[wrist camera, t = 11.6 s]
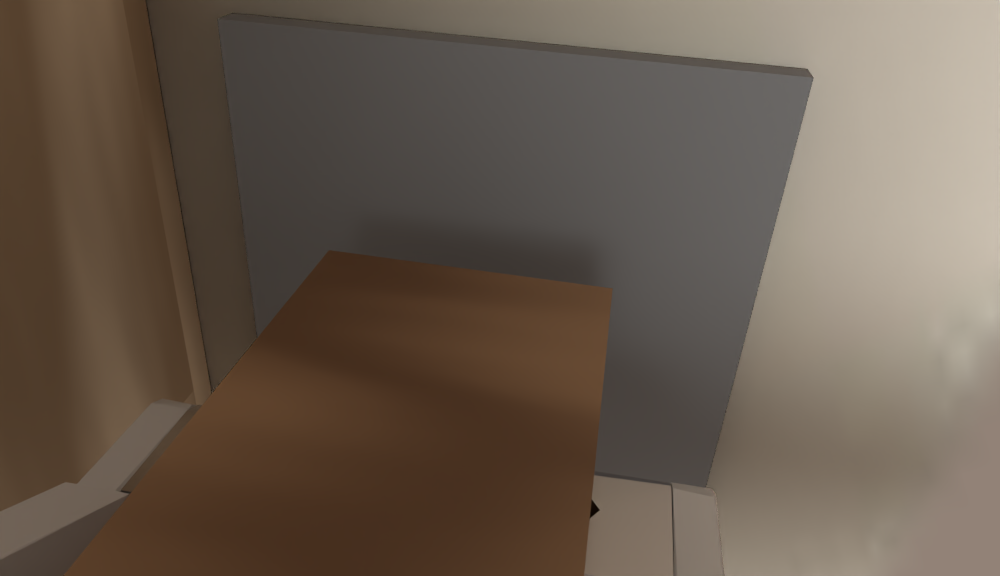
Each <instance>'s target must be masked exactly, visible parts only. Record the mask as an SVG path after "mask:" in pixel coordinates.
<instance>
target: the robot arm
mask: <svg viewBox="0 0 1000 576" xmlns="http://www.w3.org/2000/svg"><path fill="white" fill-rule="evenodd" d="M201 406H202V405H193V404H188V403H183V402H178V401H173V400H168V399H160V400H158V401H155V402H153V403H151V404H150V405H149V406H148V407H147V408H146V409H145V410H144V411H143V413H142V414H141V415H140V416H139V417H138V418H137V419H136V420H135V421H134V422H133V423H132V425H131V426H130V427H129V428H128V429H127V430H126V431H125V432H124V433H123V434H122V435H121V436H120V438H119V439H118V440H117V441H116V442H115V443H114V444H113V445H112V446H111V447H110V448H109V450H108V451H107V452H106V453H105V454H104V455H103V456H102V457H101V458H100V459H99V460H98V461H97V463H96V464H95V465H94V466H93V467H92V468H91V469H90V470H89V471H88V472H87V473H86V475H85V476H84V477H83V478H82V479H81V480H80V481H79V482H78V483H77V484H74V483H68V482H65V483H62V484H60V485H58V486H56V487H54V488H51V489H49V490H47V491H45V492H42V493H40V494H38V495H36V496H34V497H31V498H29V499H27V500H25V501H22V502H20V503H18V504H16V505H14V506H11V507H9V508H7V509H5V510H3V511H0V576H63V575H64V574H65V573H66V572H67V570H68V569H69V568H70V567H71V566H72V564H73V563H74V562H75V561H76V559H77V558H78V557H79V556H80V555H81V553H82V552H83V551H84V550H85V548H86V547H87V546H88V545H89V544H90V542H91V541H92V540H93V539H94V537H95V536H96V535H97V534H98V532H99V531H100V530H101V529H102V528H103V526H104V525H105V524H106V523H107V521H108V520H109V519H110V518H111V517H112V515H113V514H114V513H115V512H116V510H117V509H118V508H119V507H120V506H121V504H122V503H123V502H124V501H125V499H126V498H127V497H128V496H129V494H130V493H131V492H132V491H133V490H134V488H135V487H136V486H137V485H138V483H139V482H140V481H141V480H142V479H143V477H144V476H145V475H146V474H147V472H148V471H149V470H150V469H151V468H152V466H153V465H154V464H155V463H156V461H157V460H158V459H159V458H160V457H161V455H162V454H163V453H164V452H165V450H166V449H167V448H168V447H169V445H170V444H171V443H172V442H173V441H174V439H175V438H176V437H177V436H178V434H179V433H180V432H181V431H182V430H183V428H184V427H185V426H186V425H187V423H188V422H189V421H190V420H191V419H192V417H193V416H194V415H195V414H196V412H197V411H198V410H199V409H200V408H201ZM584 576H724V568H723V558H722V548H721V538H720V528H719V518H718V508H717V498H716V494H715V492H714V491H713V489H712V488H705V487H698V486H691V485H685V484H678V483H670V484H669V483H668V482H662V481H655V480H649V479H642V478H636V477H630V476H623V475H617V474H610V473H604V472H597V471H594V481H593V491H592V501H591V511H590V521H589V531H588V541H587V551H586V561H585V571H584Z"/></svg>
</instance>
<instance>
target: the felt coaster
mask: <svg viewBox="0 0 1000 576" xmlns="http://www.w3.org/2000/svg"><path fill="white" fill-rule="evenodd" d="M217 20H218V28H219V36H220V44H221V52H222V60H223V68H224V76H225V84H226V92H227V100H228V108H229V116H230V124H231V132H232V140H233V148H234V156H235V164H236V172H237V180H238V188H239V196H240V204H241V212H242V220H243V228H244V236H245V245H246V253H247V261H248V269H249V277H250V285H251V293H252V301H253V309H254V317H255V325H256V333H257V338H258V336H259V335H260V334H261V333H262V332H263V330H264V329H265V328H266V327H267V325H268V324H269V323H270V322H271V321H272V319H273V318H274V317H275V316H276V314H277V313H278V312H279V311H280V310H281V308H282V307H283V306H284V305H285V303H286V302H287V301H288V300H289V298H290V297H291V296H292V295H293V294H294V292H295V291H296V290H297V289H298V287H299V286H300V285H301V284H302V283H303V281H304V280H305V279H306V278H307V276H308V275H309V274H310V273H311V272H312V270H313V269H314V268H315V267H316V265H317V264H318V263H319V262H320V261H321V259H322V258H323V257H324V256H325V254H326V253H327V252H328V251H329V250H332V251H339V252H347V253H354V254H361V255H369V256H376V257H384V258H391V259H398V260H406V261H413V262H421V263H428V264H435V265H443V266H450V267H458V268H465V269H472V270H480V271H487V272H494V273H502V274H509V275H517V276H524V277H531V278H539V279H546V280H554V281H561V282H568V283H576V284H583V285H591V286H598V287H605V288H613V290H612V300H611V310H610V320H609V330H608V340H607V350H606V360H605V370H604V380H603V390H602V400H601V410H600V420H599V430H598V440H597V450H596V461H595V471H597V472H604V473H610V474H617V475H623V476H630V477H636V478H642V479H649V480H655V481H662V482H668V483H669V484H670V483H678V484H685V485H691V486H698V487H705V488H706V485H707V481H708V477H709V473H710V470H711V466H712V462H713V458H714V454H715V451H716V447H717V443H718V439H719V435H720V432H721V428H722V424H723V420H724V416H725V413H726V409H727V405H728V401H729V397H730V394H731V390H732V386H733V382H734V378H735V374H736V371H737V367H738V363H739V359H740V355H741V352H742V348H743V344H744V340H745V336H746V333H747V329H748V325H749V321H750V317H751V314H752V310H753V306H754V302H755V298H756V295H757V291H758V287H759V283H760V279H761V276H762V272H763V268H764V264H765V260H766V257H767V253H768V249H769V245H770V241H771V238H772V234H773V230H774V226H775V222H776V219H777V215H778V211H779V207H780V203H781V200H782V196H783V192H784V188H785V184H786V181H787V177H788V173H789V169H790V165H791V162H792V158H793V154H794V150H795V146H796V143H797V139H798V135H799V131H800V127H801V124H802V120H803V116H804V112H805V108H806V104H807V101H808V97H809V93H810V89H811V85H812V82H813V76H812V75H811V74H810V72H809V71H808V69H801V68H790V67H780V66H770V65H759V64H749V63H739V62H729V61H718V60H708V59H698V58H688V57H677V56H667V55H657V54H647V53H636V52H626V51H616V50H606V49H595V48H585V47H575V46H565V45H554V44H544V43H534V42H524V41H513V40H503V39H493V38H483V37H472V36H462V35H452V34H442V33H431V32H421V31H411V30H401V29H390V28H380V27H370V26H360V25H349V24H339V23H329V22H319V21H308V20H298V19H288V18H277V17H267V16H257V15H247V14H236V13H231V14H229V15H226V16H224V17H221V18H219V19H217Z"/></svg>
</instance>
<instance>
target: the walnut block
mask: <svg viewBox="0 0 1000 576" xmlns="http://www.w3.org/2000/svg"><path fill="white" fill-rule="evenodd" d="M612 290H613V288H605V287H598V286H591V285H583V284H576V283H568V282H561V281H554V280H546V279H539V278H531V277H524V276H517V275H509V274H502V273H494V272H487V271H480V270H472V269H465V268H458V267H450V266H443V265H435V264H428V263H421V262H413V261H406V260H398V259H391V258H384V257H376V256H369V255H361V254H354V253H347V252H339V251H332V250H329V251H328V252H327V253H326V254H325V256H324V257H323V258H322V259H321V261H320V262H319V263H318V264H317V265H316V267H315V268H314V269H313V270H312V272H311V273H310V274H309V275H308V276H307V278H306V279H305V280H304V281H303V283H302V284H301V285H300V286H299V287H298V289H297V290H296V291H295V292H294V294H293V295H292V296H291V297H290V298H289V300H288V301H287V302H286V303H285V305H284V306H283V307H282V308H281V310H280V311H279V312H278V313H277V314H276V316H275V317H274V318H273V319H272V321H271V322H270V323H269V324H268V325H267V327H266V328H265V329H264V330H263V332H262V333H261V334H260V335H259V336H258V338H257V339H256V340H255V341H254V343H253V344H252V345H251V346H250V347H249V349H248V350H247V351H246V352H245V354H244V355H243V356H242V357H241V359H240V360H239V361H238V362H237V363H236V365H235V366H234V367H233V368H232V370H231V371H230V372H229V373H228V374H227V376H226V377H225V378H224V379H223V381H222V382H221V383H220V384H219V385H218V387H217V388H216V389H215V390H214V392H213V393H212V394H211V395H210V396H209V398H208V399H207V400H206V401H205V403H204V404H203V405H202V406H201V408H200V409H199V410H198V411H197V412H196V414H195V415H194V416H193V417H192V419H191V420H190V421H189V422H188V423H187V425H186V426H185V427H184V428H183V430H182V431H181V432H180V433H179V434H178V436H177V437H176V438H175V439H174V441H173V442H172V443H171V444H170V445H169V447H168V448H167V449H166V450H165V452H164V453H163V454H162V455H161V457H160V458H159V459H158V460H157V461H156V463H155V464H154V465H153V466H152V468H151V469H150V470H149V471H148V472H147V474H146V475H145V476H144V477H143V479H142V480H141V481H140V482H139V483H138V485H137V486H136V487H135V488H134V490H133V491H132V492H131V493H130V494H129V496H128V497H127V498H126V499H125V501H124V502H123V503H122V504H121V506H120V507H119V508H118V509H117V510H116V512H115V513H114V514H113V515H112V517H111V518H110V519H109V520H108V521H107V523H106V524H105V525H104V526H103V528H102V529H101V530H100V531H99V532H98V534H97V535H96V536H95V537H94V539H93V540H92V541H91V542H90V544H89V545H88V546H87V547H86V548H85V550H84V551H83V552H82V553H81V555H80V556H79V557H78V558H77V559H76V561H75V562H74V563H73V564H72V566H71V567H70V568H69V569H68V570H67V572H66V573H65V574H64V575H63V576H584V571H585V561H586V551H587V541H588V531H589V521H590V511H591V501H592V491H593V481H594V471H595V461H596V450H597V440H598V430H599V420H600V410H601V400H602V390H603V380H604V370H605V360H606V350H607V340H608V330H609V320H610V310H611V300H612Z"/></svg>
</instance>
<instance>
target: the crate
mask: <svg viewBox="0 0 1000 576" xmlns="http://www.w3.org/2000/svg"><path fill="white" fill-rule="evenodd" d="M211 394H212V393H211V387H210V381H209V375H208V369H207V363H206V357H205V351H204V345H203V339H202V333H201V328H200V322H199V316H198V310H197V304H196V298H195V292H194V286H193V280H192V274H191V268H190V262H189V256H188V250H187V244H186V238H185V232H184V226H183V220H182V214H181V209H180V203H179V197H178V191H177V185H176V179H175V173H174V167H173V161H172V155H171V149H170V143H169V137H168V131H167V125H166V119H165V113H164V107H163V101H162V95H161V89H160V84H159V78H158V72H157V66H156V60H155V54H154V48H153V42H152V36H151V30H150V24H149V18H148V12H147V6H146V0H0V511H3V510H5V509H7V508H9V507H11V506H14V505H16V504H18V503H20V502H22V501H25V500H27V499H29V498H31V497H34V496H36V495H38V494H40V493H42V492H45V491H47V490H49V489H51V488H54V487H56V486H58V485H60V484H62V483H65V482H68V483H74V484H77V483H78V482H79V481H80V480H81V479H82V478H83V477H84V476H85V475H86V473H87V472H88V471H89V470H90V469H91V468H92V467H93V466H94V465H95V464H96V463H97V461H98V460H99V459H100V458H101V457H102V456H103V455H104V454H105V453H106V452H107V451H108V450H109V448H110V447H111V446H112V445H113V444H114V443H115V442H116V441H117V440H118V439H119V438H120V436H121V435H122V434H123V433H124V432H125V431H126V430H127V429H128V428H129V427H130V426H131V425H132V423H133V422H134V421H135V420H136V419H137V418H138V417H139V416H140V415H141V414H142V413H143V411H144V410H145V409H146V408H147V407H148V406H149V405H150V404H151V403H153V402H155V401H158V400H160V399H168V400H173V401H178V402H183V403H188V404H193V405H203V404H204V403H205V401H206V400H207V399H208V398H209V396H210V395H211Z"/></svg>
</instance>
